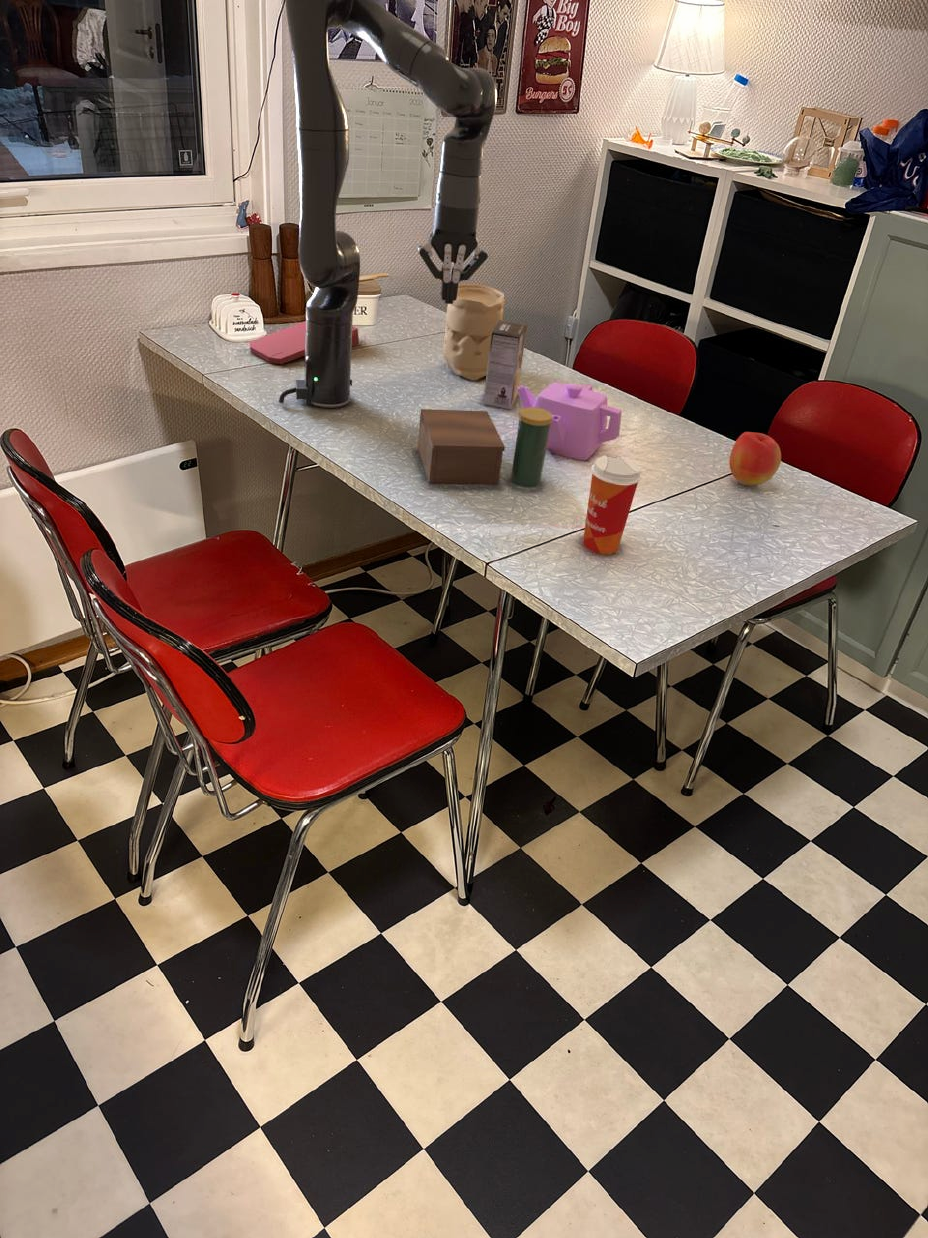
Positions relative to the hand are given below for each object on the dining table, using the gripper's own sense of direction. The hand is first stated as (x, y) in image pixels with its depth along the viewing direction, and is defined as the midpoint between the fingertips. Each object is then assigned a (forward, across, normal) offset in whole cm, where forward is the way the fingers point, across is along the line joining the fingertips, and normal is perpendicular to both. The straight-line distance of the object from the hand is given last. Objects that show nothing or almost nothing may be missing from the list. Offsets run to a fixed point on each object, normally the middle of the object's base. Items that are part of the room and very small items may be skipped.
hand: (447, 302), depth 173 cm
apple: (+27, -60, +17) cm, 68 cm away
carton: (+27, +23, -48) cm, 60 cm away
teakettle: (+27, -26, +1) cm, 38 cm away
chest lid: (+19, -2, +14) cm, 24 cm away
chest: (+27, -2, +14) cm, 30 cm away
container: (+27, -14, -38) cm, 49 cm away
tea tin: (+27, -14, +19) cm, 36 cm away
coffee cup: (+27, -22, +41) cm, 54 cm away
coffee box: (+27, -18, -21) cm, 39 cm away
